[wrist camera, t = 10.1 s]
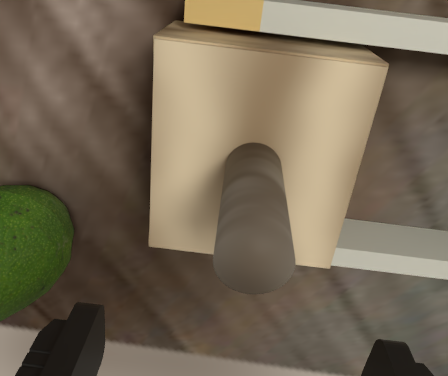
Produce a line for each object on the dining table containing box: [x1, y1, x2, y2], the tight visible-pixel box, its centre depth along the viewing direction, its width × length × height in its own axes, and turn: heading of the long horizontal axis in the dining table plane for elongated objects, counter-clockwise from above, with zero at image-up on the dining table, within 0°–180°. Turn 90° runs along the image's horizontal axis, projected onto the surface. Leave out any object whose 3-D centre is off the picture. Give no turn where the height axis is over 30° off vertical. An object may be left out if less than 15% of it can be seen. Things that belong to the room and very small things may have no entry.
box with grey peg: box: [149, 20, 389, 294], centre depth 22 cm, size 11×12×15 cm
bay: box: [184, 0, 448, 280], centre depth 26 cm, size 24×16×6 cm, turn 84°
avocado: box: [0, 185, 74, 321], centre depth 27 cm, size 8×8×12 cm
